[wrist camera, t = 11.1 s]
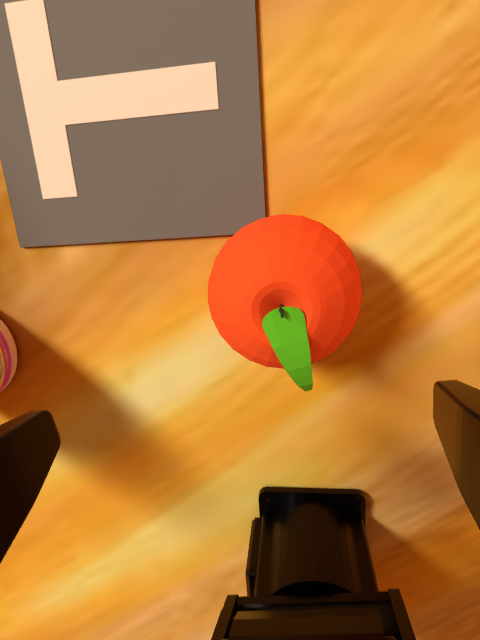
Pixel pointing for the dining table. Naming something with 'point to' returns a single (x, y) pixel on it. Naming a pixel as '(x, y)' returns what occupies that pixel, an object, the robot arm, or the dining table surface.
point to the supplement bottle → (7, 356)
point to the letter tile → (130, 119)
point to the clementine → (285, 293)
